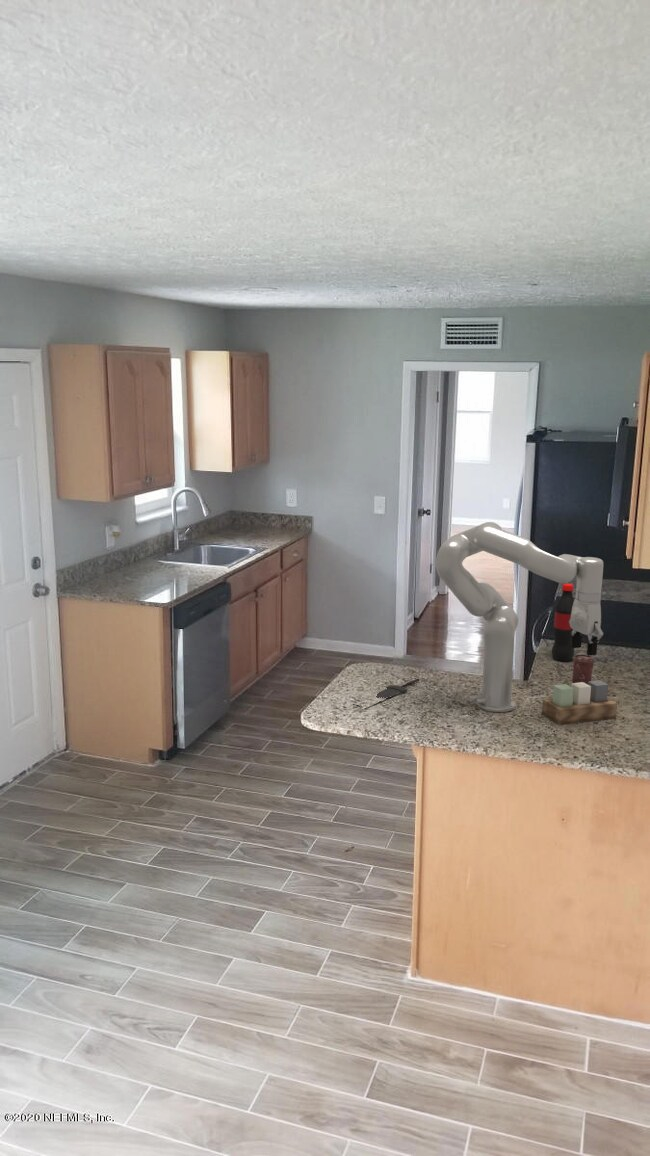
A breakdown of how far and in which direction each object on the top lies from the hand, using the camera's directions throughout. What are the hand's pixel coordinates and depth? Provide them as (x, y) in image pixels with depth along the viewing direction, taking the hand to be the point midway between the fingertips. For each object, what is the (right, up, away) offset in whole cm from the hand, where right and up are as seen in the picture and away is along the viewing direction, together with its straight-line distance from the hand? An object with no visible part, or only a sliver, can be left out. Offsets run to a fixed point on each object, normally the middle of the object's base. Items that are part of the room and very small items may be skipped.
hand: (583, 650), depth 278 cm
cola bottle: (+11, -9, +64) cm, 66 cm away
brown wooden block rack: (0, -21, +5) cm, 22 cm away
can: (+6, -18, +23) cm, 30 cm away
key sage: (-6, -18, +2) cm, 19 cm away
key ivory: (0, -18, +4) cm, 18 cm away
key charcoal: (+6, -18, +6) cm, 19 cm away
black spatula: (-60, -17, +22) cm, 66 cm away
